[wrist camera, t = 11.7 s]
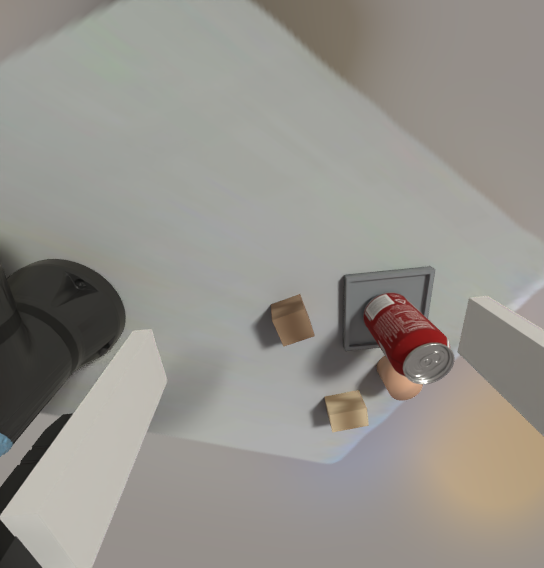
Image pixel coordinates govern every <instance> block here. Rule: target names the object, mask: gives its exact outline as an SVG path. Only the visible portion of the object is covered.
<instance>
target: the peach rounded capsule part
mask: <svg viewBox="0 0 544 568" xmlns="http://www.w3.org/2000/svg"><path fill="white" fill-rule="evenodd" d="M377 372H378V374H379V375H380V377H381V379H382V381H383V383H384V384H385V386H386V388H387V390H388V392H389V393H390V395H391V396H392V397H393V398H394V399H396V400H408V399H411V398H413V397H415V396H416V395H417V394H418V393H419V392H420V391H421V389H422V386H423V384H416V383H413V382H411V381H410V380H408V379H407V377H405V376H402V375H400V374H399V373H397V372H396V371H395V370H394V368H393V367H392V365H391V364H390V362H389V360H388V359H387V357H386V356H384V357H382V358H381V359H380V360H379V362H378V363H377Z"/></svg>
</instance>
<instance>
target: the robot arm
mask: <svg viewBox="0 0 544 568" xmlns="http://www.w3.org/2000/svg"><path fill="white" fill-rule="evenodd" d="M124 326H125V310H124V306H123V303H122V301H121V298H120V297H119V295H118V293H117V292H116V290H115V289H114V288H113V286H112V285H111V284H110V283H109V282H108V281H107V280H106V279H105V278H103V277H102V276H101V275H100V274H98V273H97V272H95V271H93V270H92V269H90V268H88V267H86V266H84V265H81V264H79V263H76V262H72V261H68V260H61V259H47V260H41V261H37V262H34V263H32V264H30V265H28V266H25V267H23V268H21V269H19V270H17V271H16V272H14V273H13V274H12V275H10V276H9V277H8V278H7V279H6V276H5V274H4V271H3V268H2V266H1V263H0V457H1V456H2V455H3V454H5V453H6V452H8V451H9V450H10V449H11V447H12V445H13V444H14V443H15V442H16V440H17V439H18V438H19V437H20V436H21V434H22V433H23V432H24V431H25V430H26V428H27V427H28V426H29V425H30V423H31V422H32V421H33V420H34V419H35V417H36V416H37V415H38V414H39V413H40V411H41V410H42V409H43V408H44V407H45V405H46V404H47V403H48V402H49V401H50V399H51V398H52V397H53V396H54V395H55V393H56V392H57V391H58V390H59V389H60V387H61V386H62V385H63V384H64V383H65V381H66V380H67V379H68V378H69V377H70V375H71V374H72V373H73V372H74V371H76V370H78V369H79V368H81V367H83V366H85V365H86V364H88V363H90V362H92V361H93V360H95V359H97V358H99V357H100V356H102V355H104V354H105V353H106V352H107V351H108V350H110V349H111V347H112V346H113V345H114V344H115V343H116V341H117V340H118V339H119V337H120V336H121V334H122V332H123V330H124ZM458 353H459V354H460V355H461V356H462V357H463V358H464V359H465V360H466V361H467V362H468V363H469V364H470V365H471V366H472V367H473V368H474V369H475V370H476V371H477V372H478V373H479V374H480V375H481V376H483V377H484V379H485V380H487V381H488V382H489V383H490V384H491V385H492V386H493V387H494V388H495V389H496V390H497V391H498V392H499V393H500V394H501V395H502V396H503V397H504V398H505V399H506V400H507V401H508V402H509V403H510V404H511V405H512V406H513V407H514V408H515V409H516V410H517V411H518V412H519V413H520V414H521V415H522V416H523V417H524V418H525V419H526V420H527V421H528V422H530V424H532V426H534V427H535V428H536V429H537V430H538V431H539V432H540V433H541V434H542V435H543V436H544V330H543V329H541V328H540V327H538V326H537V325H535V324H533V323H532V322H530V321H528V320H527V319H525V318H523V317H521V316H520V315H518V314H517V313H515V312H513V311H512V310H510V309H508V308H507V307H505V306H504V305H502V304H500V303H499V302H497V301H495V300H494V299H492V298H490V297H489V296H482V297H472V298H469V301H468V306H467V310H466V315H465V320H464V324H463V329H462V333H461V338H460V342H459V347H458ZM166 383H167V378H166V374H165V371H164V368H163V365H162V361H161V358H160V355H159V352H158V348H157V345H156V342H155V339H154V335H153V332H152V329H147V330H137V331H133V332H132V333H131V334H130V336H129V337H128V338H127V340H126V341H125V343H124V344H123V345H122V347H121V348H120V350H119V351H118V352H117V354H116V355H115V357H114V358H113V359H112V361H111V362H110V363H109V365H108V366H107V368H106V369H105V370H104V372H103V373H102V375H101V376H100V377H99V379H98V380H97V382H96V383H95V384H94V386H93V387H92V388H91V390H90V391H89V393H88V394H87V395H86V397H85V398H84V400H83V401H82V402H81V404H80V405H79V407H78V408H77V409H76V411H75V412H74V413H73V414H63V415H62V416H61V417H60V418H58V419H57V420H56V421H55V422H54V423H53V424H51V425H50V426H49V427H48V428H47V429H46V430H45V431H44V432H43V433H42V434H41V436H40V437H39V438H38V440H37V441H36V442H35V444H34V445H33V446H32V450H29V451H28V452H27V454H26V455H25V456H24V458H23V459H22V460H21V463H20V465H17V467H16V468H15V469H14V471H13V472H12V473H11V474H10V475H9V477H8V478H7V479H6V481H5V482H4V483H3V485H2V486H1V487H0V568H92V566H93V563H94V561H95V559H96V556H97V554H98V551H99V549H100V546H101V544H102V541H103V539H104V536H105V534H106V532H107V529H108V526H109V524H110V522H111V519H112V517H113V514H114V512H115V509H116V507H117V504H118V502H119V499H120V497H121V494H122V492H123V490H124V487H125V485H126V482H127V480H128V477H129V475H130V472H131V470H132V467H133V465H134V462H135V460H136V457H137V455H138V453H139V450H140V448H141V445H142V442H143V440H144V438H145V435H146V433H147V430H148V428H149V425H150V423H151V420H152V418H153V415H154V413H155V411H156V408H157V406H158V403H159V401H160V398H161V396H162V393H163V391H164V388H165V386H166Z"/></svg>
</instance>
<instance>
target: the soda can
mask: <svg viewBox="0 0 544 568" xmlns="http://www.w3.org/2000/svg"><path fill="white" fill-rule="evenodd" d="M363 320H364V323H365V325H366V327H367V328H368V330H369V331H370V333H371V334H372V336H373V337H374V339H375V340H376V342H377V344H378V345H379V347H380V348H381V350H382V351H383V353H384V354H385V356H386V357H387V359H388V360H389V362H390V364H391V365H392V367H393V368H394V370H395V371H396V372H397V373H399V374H400V375H402V376H405V377H407V379H408V380H410V381H411V382H413V383H416V384H430V383H433V382H436V381H438V380H440V379H442V378H443V377H444V376H445V375H447V374H448V373H449V371H450V370H451V368H452V367H453V364H454V354H453V352H452V350H451V349H450V343H449V341H448V339H447V337H446V336H445V335H444V334H443V333H442V332H441V331H440V330H439V329H438V328H437V327H435V326H434V325H433V324H432V323H431V322H430V321H429V320H428V319H427V318H426V317H425V316H424V315H423V314H422V313H421V312H420V311H419V310H418V309H416V308H415V307H414V306H413V305H412V304H411V303H410V302H409V301H408V300H407V299H406V298H405V297H404V296H402V295H400V294H398V293H394V292H388V293H383V294H380V295H378V296H376V297H374V298H373V299H372V300H371V301H370V302H369V303H368V304H367V306H366V307H365V310H364V313H363Z"/></svg>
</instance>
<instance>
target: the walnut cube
mask: <svg viewBox="0 0 544 568" xmlns="http://www.w3.org/2000/svg"><path fill="white" fill-rule="evenodd" d="M271 313H272V321H273V324H274V326H275V328H276V330H277V333H278V335H279V337H280V339H281V342H282V344H283V346H287V345H290V344H293V343H296V342H299V341H301V340H304V339H307V338H310V337H313V336H315V335H314V332H313V329H312V325H311V322H310V319H309V316H308V314H307V311H306V309H305V306H304V303H303V301H302V298H301V295H300V294H299V295H296V296H293V297H290V298H288V299H285V300H282V301H279V302H277V303H274V304H271Z"/></svg>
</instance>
